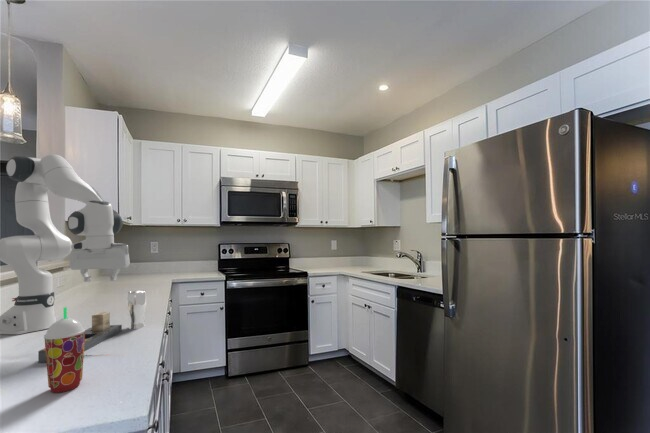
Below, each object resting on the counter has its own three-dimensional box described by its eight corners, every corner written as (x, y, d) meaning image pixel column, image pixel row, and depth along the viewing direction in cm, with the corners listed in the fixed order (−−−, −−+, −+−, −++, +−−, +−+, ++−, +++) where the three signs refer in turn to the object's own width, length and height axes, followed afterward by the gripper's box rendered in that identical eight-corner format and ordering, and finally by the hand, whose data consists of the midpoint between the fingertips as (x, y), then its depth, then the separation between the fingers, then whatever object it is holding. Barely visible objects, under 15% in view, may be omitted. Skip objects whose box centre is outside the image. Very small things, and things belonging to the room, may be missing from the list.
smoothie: (59, 381, 90) (59, 304, 90) (93, 379, 90) (92, 303, 91) (35, 397, 81) (34, 312, 82) (72, 394, 82) (71, 310, 83)
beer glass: (138, 332, 132) (137, 293, 133) (122, 331, 134) (122, 293, 134) (150, 327, 139) (150, 290, 140) (135, 326, 141) (135, 290, 141)
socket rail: (72, 361, 104) (72, 348, 104) (38, 362, 104) (38, 350, 104) (121, 333, 131) (121, 323, 131) (94, 335, 131) (94, 325, 131)
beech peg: (92, 337, 124) (91, 315, 125) (98, 334, 128) (98, 312, 129) (103, 337, 124) (103, 314, 125) (109, 333, 128) (109, 312, 129)
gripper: (133, 242, 131) (133, 278, 131) (78, 244, 130) (78, 280, 130) (124, 243, 125) (124, 281, 124) (66, 245, 124) (66, 283, 123)
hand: (100, 281), depth 127 cm, fingers open, 8 cm apart
